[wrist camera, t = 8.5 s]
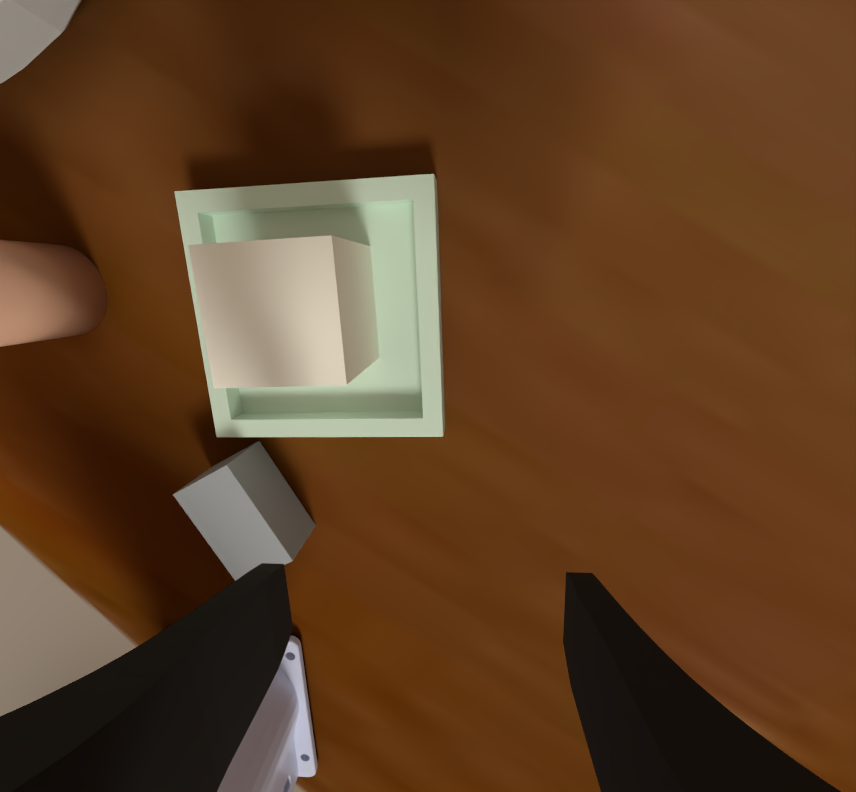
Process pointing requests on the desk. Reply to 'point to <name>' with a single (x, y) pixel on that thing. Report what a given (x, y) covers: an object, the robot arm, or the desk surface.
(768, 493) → the desk surface
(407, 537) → the desk surface
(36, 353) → the desk surface
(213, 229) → the tray
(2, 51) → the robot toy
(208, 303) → the cream block
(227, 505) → the slate block
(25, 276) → the pink rounded capsule
